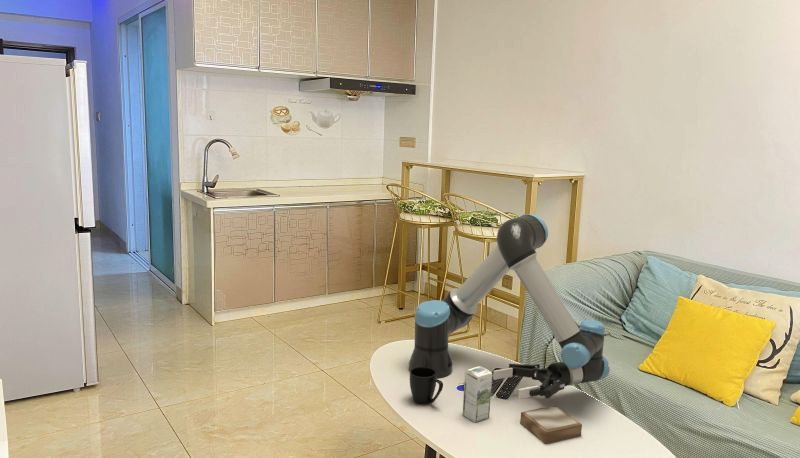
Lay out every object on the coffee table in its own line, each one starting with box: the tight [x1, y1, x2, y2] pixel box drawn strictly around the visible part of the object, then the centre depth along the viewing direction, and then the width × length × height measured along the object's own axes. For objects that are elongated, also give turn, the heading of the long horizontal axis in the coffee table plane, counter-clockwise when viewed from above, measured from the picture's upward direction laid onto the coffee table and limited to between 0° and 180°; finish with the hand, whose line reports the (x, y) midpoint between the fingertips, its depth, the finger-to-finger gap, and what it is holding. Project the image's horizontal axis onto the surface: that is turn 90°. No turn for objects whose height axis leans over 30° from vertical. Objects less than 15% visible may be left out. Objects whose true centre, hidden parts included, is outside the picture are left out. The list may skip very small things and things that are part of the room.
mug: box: [409, 367, 444, 406], centre depth 185 cm, size 8×12×10 cm
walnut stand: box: [519, 405, 583, 445], centre depth 171 cm, size 12×12×4 cm
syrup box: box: [462, 365, 493, 423], centre depth 177 cm, size 6×6×14 cm
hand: (505, 384), depth 180 cm, fingers open, 13 cm apart
